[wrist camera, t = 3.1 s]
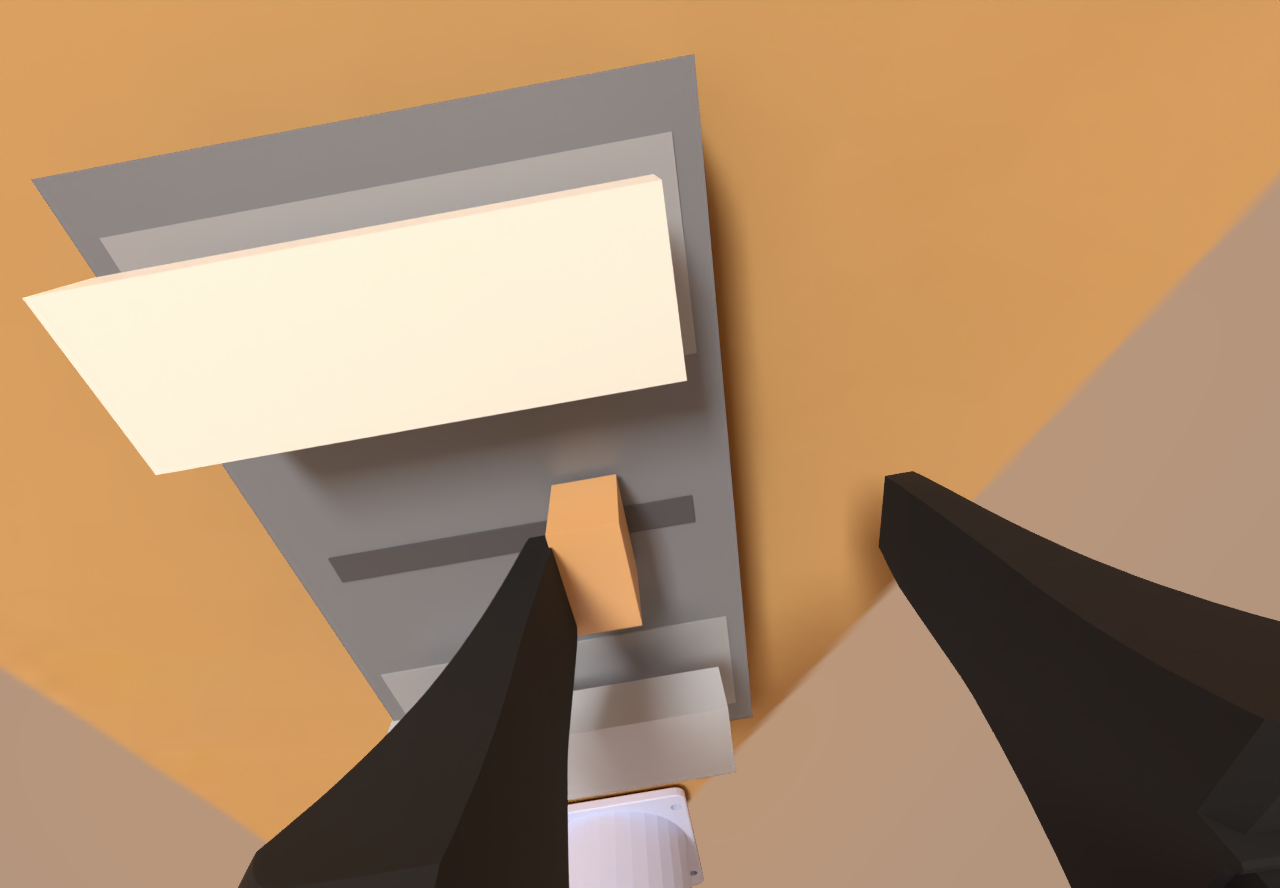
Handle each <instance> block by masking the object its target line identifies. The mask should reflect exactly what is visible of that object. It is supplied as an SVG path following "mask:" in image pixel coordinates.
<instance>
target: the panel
mask: <svg viewBox="0 0 1280 888" xmlns="http://www.w3.org/2000/svg"><path fill="white" fill-rule="evenodd" d="M651 174H654V175H655V176H657V177H658V178H660V179H661V180H662V186H663V194H664V202H665V210H666V218H667V226H668V233H669V241H670V249H671V257H672V265H673V273H674V281H675V289H676V297H677V305H678V313H679V321H680V329H681V337H682V345H683V353H684V361H685V369H686V377H687V381H682V382H676V383H671V384H665V385H660V386H654V387H648V388H643V389H637V390H631V391H626V392H620V393H615V394H609V395H603V396H598V397H592V398H586V399H581V400H575V401H570V402H564V403H558V404H553V405H547V406H541V407H536V408H530V409H525V410H519V411H513V412H508V413H502V414H496V415H491V416H485V417H480V418H474V419H468V420H463V421H457V422H451V423H446V424H440V425H435V426H429V427H423V428H418V429H412V430H406V431H401V432H395V433H390V434H384V435H378V436H373V437H367V438H361V439H356V440H350V441H345V442H339V443H333V444H328V445H322V446H316V447H311V448H305V449H300V450H294V451H288V452H283V453H277V454H271V455H266V456H260V457H255V458H249V459H243V460H238V461H232V462H226V463H221V464H222V465H223V467H224V468H225V470H226V471H227V473H228V474H229V476H230V477H231V479H232V480H233V482H234V483H235V485H236V486H237V488H238V489H239V491H240V492H241V494H242V495H243V497H244V498H245V499H246V501H247V502H248V504H249V505H250V507H251V508H252V510H253V511H254V513H255V514H256V516H257V517H258V519H259V520H260V522H261V523H262V525H263V526H264V528H265V529H266V531H267V532H268V534H269V535H270V537H271V538H272V540H273V541H274V543H275V544H276V546H277V547H278V549H279V550H280V552H281V553H282V555H283V556H284V558H285V559H286V561H287V562H288V564H289V565H290V567H291V568H292V570H293V571H294V573H295V574H296V576H297V577H298V579H299V580H300V582H301V583H302V585H303V586H304V588H305V589H306V591H307V592H308V593H309V595H310V596H311V598H312V599H313V601H314V602H315V604H316V605H317V607H318V608H319V610H320V611H321V613H322V614H323V616H324V617H325V619H326V620H327V622H328V623H329V625H330V626H331V628H332V629H333V631H334V632H335V634H336V635H337V637H338V638H339V640H340V641H341V643H342V644H343V646H344V647H345V649H346V650H347V652H348V653H349V655H350V656H351V658H352V659H353V661H354V662H355V664H356V665H357V667H358V668H359V670H360V671H361V673H362V674H363V676H364V677H365V679H366V680H367V682H368V683H369V685H370V686H371V687H372V689H373V690H374V692H375V693H376V695H377V696H378V698H379V699H380V701H381V702H382V704H383V705H384V707H385V708H386V710H387V711H388V713H389V714H390V716H391V717H392V719H393V720H394V721H397V720H401V719H402V718H403V717H404V716H405V715H406V713H407V712H408V711H409V710H410V709H411V708H412V707H413V706H414V705H415V704H416V703H417V701H418V700H419V699H420V698H421V697H422V696H423V695H424V693H425V692H426V691H427V690H428V689H429V687H430V686H431V685H432V684H433V683H434V681H435V680H436V679H437V678H438V676H439V675H440V674H441V673H442V671H443V670H444V669H445V668H446V666H447V665H448V664H449V662H450V661H451V660H452V658H453V657H454V656H455V654H456V653H457V652H458V650H459V649H460V648H461V646H462V645H463V643H464V642H465V640H466V639H467V637H468V636H469V635H470V633H471V632H472V630H473V629H474V627H475V626H476V624H477V623H478V621H479V620H480V619H481V617H482V615H483V614H484V612H485V611H486V609H487V608H488V606H489V604H490V603H491V601H492V600H493V598H494V596H495V595H496V593H497V591H498V590H499V588H500V587H501V585H502V583H503V582H504V580H505V578H506V576H507V575H508V573H509V571H510V569H511V568H512V566H513V564H514V562H515V561H516V559H517V557H518V555H519V553H520V552H521V550H522V548H523V546H524V545H525V543H526V541H527V540H528V539H529V538H532V537H537V536H543V535H545V534H546V526H547V518H548V510H549V502H550V494H551V486H552V485H557V484H562V483H568V482H574V481H579V480H585V479H591V478H597V477H602V476H608V475H614V474H616V477H617V481H618V486H619V490H620V495H621V499H622V504H623V508H624V513H625V517H626V522H627V526H628V531H629V535H630V540H631V544H632V549H633V553H634V558H635V562H636V567H637V574H638V584H639V595H640V605H641V616H642V625H641V626H635V627H629V628H623V629H617V630H611V631H605V632H600V633H594V634H588V635H582V636H578V635H577V640H578V641H577V654H576V666H575V677H574V688H573V691H576V690H582V689H588V688H594V687H600V686H606V685H612V684H618V683H624V682H630V681H636V680H642V679H648V678H654V677H660V676H666V675H672V674H678V673H684V672H690V671H696V670H702V669H707V668H713V667H719V671H720V676H721V680H722V684H723V688H724V693H725V697H726V701H727V706H728V712H729V720H730V721H731V720H737V719H743V718H750V717H752V705H751V694H750V683H749V671H748V660H747V649H746V637H745V626H744V614H743V603H742V592H741V580H740V569H739V557H738V546H737V535H736V523H735V512H734V500H733V489H732V478H731V466H730V455H729V443H728V432H727V421H726V409H725V398H724V386H723V375H722V364H721V352H720V341H719V329H718V318H717V307H716V295H715V284H714V272H713V261H712V250H711V238H710V227H709V216H708V204H707V193H706V181H705V170H704V159H703V147H702V136H701V124H700V113H699V102H698V90H697V79H696V67H695V56H694V54H693V55H688V56H682V57H677V58H672V59H667V60H661V61H656V62H651V63H645V64H640V65H635V66H630V67H624V68H619V69H614V70H608V71H603V72H598V73H592V74H587V75H582V76H577V77H571V78H566V79H561V80H555V81H550V82H545V83H540V84H534V85H529V86H524V87H518V88H513V89H508V90H503V91H497V92H492V93H487V94H481V95H476V96H471V97H466V98H460V99H455V100H450V101H444V102H439V103H434V104H428V105H423V106H418V107H413V108H407V109H402V110H397V111H391V112H386V113H381V114H376V115H370V116H365V117H360V118H354V119H349V120H344V121H339V122H333V123H328V124H323V125H317V126H312V127H307V128H302V129H296V130H291V131H286V132H280V133H275V134H270V135H264V136H259V137H254V138H249V139H243V140H238V141H233V142H227V143H222V144H217V145H212V146H206V147H201V148H196V149H190V150H185V151H180V152H175V153H169V154H164V155H159V156H153V157H148V158H143V159H137V160H132V161H127V162H122V163H116V164H111V165H106V166H100V167H95V168H90V169H85V170H79V171H74V172H69V173H63V174H58V175H53V176H48V177H42V178H37V179H32V182H33V183H34V185H35V186H36V188H37V189H38V191H39V192H40V194H41V195H42V197H43V198H44V200H45V201H46V203H47V204H48V206H49V207H50V209H51V210H52V212H53V213H54V215H55V216H56V217H57V219H58V220H59V222H60V223H61V225H62V226H63V228H64V229H65V231H66V232H67V234H68V235H69V237H70V238H71V240H72V241H73V243H74V244H75V246H76V247H77V249H78V250H79V252H80V253H81V255H82V256H83V258H84V259H85V261H86V262H87V264H88V265H89V267H90V268H91V270H92V271H93V273H94V274H95V276H96V277H100V276H106V275H111V274H117V273H122V272H127V271H133V270H138V269H144V268H149V267H154V266H160V265H165V264H171V263H176V262H181V261H187V260H192V259H198V258H203V257H208V256H214V255H219V254H225V253H230V252H235V251H241V250H246V249H252V248H257V247H262V246H268V245H273V244H279V243H284V242H289V241H295V240H300V239H306V238H311V237H316V236H322V235H327V234H333V233H338V232H343V231H349V230H354V229H360V228H365V227H370V226H376V225H381V224H387V223H392V222H397V221H403V220H408V219H414V218H419V217H424V216H430V215H435V214H441V213H446V212H451V211H457V210H462V209H468V208H473V207H478V206H484V205H489V204H495V203H500V202H505V201H511V200H516V199H522V198H527V197H532V196H538V195H543V194H549V193H554V192H559V191H565V190H570V189H576V188H581V187H586V186H592V185H597V184H603V183H608V182H613V181H619V180H624V179H630V178H635V177H640V176H646V175H651Z"/></svg>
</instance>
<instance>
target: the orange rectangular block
mask: <svg viewBox="0 0 1280 888" xmlns="http://www.w3.org/2000/svg"><path fill="white" fill-rule="evenodd" d="M545 537H546V540H547V543H548V547H549V548H551V547H552V551H553V554H554V557H555V560H556V563H557V566H558V569H559V572H560V575H561V578H562V581H563V585H564V588H565V591H566V594H567V597H568V600H569V603H570V606H571V609H572V612H573V615H574V619H575V622H576V625H577V635H578V636H582V635H588V634H594V633H600V632H605V631H611V630H617V629H623V628H629V627H635V626H641V625H642V616H641V605H640V595H639V584H638V574H637V567H636V562H635V558H634V553H633V549H632V544H631V540H630V535H629V531H628V526H627V522H626V517H625V513H624V508H623V504H622V499H621V495H620V490H619V486H618V481H617V477H616V474H614V475H608V476H602V477H597V478H591V479H585V480H579V481H574V482H568V483H562V484H557V485H552V486H551V494H550V502H549V510H548V518H547V526H546V534H545Z"/></svg>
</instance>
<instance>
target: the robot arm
mask: <svg viewBox="0 0 1280 888" xmlns="http://www.w3.org/2000/svg"><path fill="white" fill-rule="evenodd" d="M879 548H880V550H881V552H882V554H883V556H884V558H885V560H886V562H887V564H888V566H889V568H890V570H891V572H892V574H893V576H894V578H895V580H896V582H897V584H898V585H899V587H900V589H901V590H902V592H903V593H904V595H905V596H906V597H907V599H908V601H909V602H910V604H911V605H912V606H913V608H914V609H915V611H916V612H917V614H918V615H919V617H920V618H921V620H922V621H923V622H924V624H925V625H926V627H927V628H928V630H929V631H930V633H931V634H932V636H933V637H934V638H935V640H936V641H937V643H938V644H939V645H940V647H941V649H942V650H943V651H944V653H945V654H946V656H947V657H948V658H949V660H950V661H951V663H952V664H953V666H954V667H955V669H956V670H957V672H958V673H959V675H960V676H961V678H962V679H963V681H964V682H965V684H966V685H967V687H968V689H969V690H970V692H971V693H972V695H973V697H974V698H975V700H976V702H977V704H978V706H979V707H980V709H981V711H982V713H983V715H984V716H985V718H986V720H987V722H988V723H989V725H990V727H991V729H992V731H993V732H994V734H995V736H996V738H997V740H998V741H999V743H1000V745H1001V747H1002V749H1003V751H1004V753H1005V755H1006V757H1007V759H1008V760H1009V762H1010V764H1011V766H1012V768H1013V770H1014V772H1015V774H1016V775H1017V778H1018V779H1019V781H1020V783H1021V785H1022V787H1023V789H1024V791H1025V793H1026V795H1027V796H1028V799H1029V801H1030V803H1031V805H1032V807H1033V809H1034V811H1035V813H1036V815H1037V817H1038V819H1039V821H1040V823H1041V825H1042V827H1043V829H1044V831H1045V833H1046V835H1047V837H1048V839H1049V841H1050V843H1051V845H1052V847H1053V849H1054V851H1055V853H1056V856H1057V857H1058V860H1059V862H1060V864H1061V866H1062V869H1063V871H1064V873H1065V875H1066V877H1067V879H1068V881H1069V884H1070V886H1071V888H1280V621H1277V620H1273V619H1269V618H1265V617H1261V616H1258V615H1254V614H1251V613H1248V612H1244V611H1241V610H1237V609H1234V608H1231V607H1227V606H1224V605H1220V604H1217V603H1214V602H1211V601H1207V600H1204V599H1202V598H1199V597H1195V596H1193V595H1190V594H1186V593H1184V592H1181V591H1177V590H1174V589H1171V588H1168V587H1165V586H1162V585H1159V584H1157V583H1154V582H1151V581H1148V580H1145V579H1143V578H1140V577H1137V576H1134V575H1131V574H1129V573H1127V572H1124V571H1122V570H1119V569H1116V568H1114V567H1111V566H1109V565H1106V564H1103V563H1101V562H1098V561H1096V560H1093V559H1091V558H1088V557H1086V556H1084V555H1081V554H1079V553H1077V552H1074V551H1072V550H1070V549H1067V548H1065V547H1063V546H1060V545H1059V544H1056V543H1054V542H1052V541H1050V540H1048V539H1045V538H1043V537H1041V536H1039V535H1037V534H1035V533H1033V532H1030V531H1028V530H1026V529H1024V528H1022V527H1020V526H1018V525H1016V524H1014V523H1012V522H1010V521H1008V520H1006V519H1004V518H1002V517H1000V516H998V515H996V514H994V513H992V512H990V511H988V510H987V509H984V508H982V507H981V506H979V505H977V504H975V503H973V502H971V501H969V500H968V499H966V498H964V497H962V496H960V495H958V494H956V493H954V492H953V491H951V490H949V489H947V488H945V487H943V486H941V485H939V484H938V483H936V482H934V481H932V480H930V479H928V478H926V477H924V476H922V475H920V474H918V473H916V472H913V471H912V472H906V473H900V474H894V475H888V476H885V483H884V494H883V505H882V516H881V528H880V539H879ZM577 641H578V640H577V625H576V622H575V619H574V615H573V612H572V609H571V606H570V603H569V600H568V597H567V594H566V591H565V588H564V585H563V581H562V578H561V575H560V572H559V569H558V566H557V563H556V560H555V557H554V554H553V551H552V547H551V548H549V547H548V543H547V540H546V537H545V535H543V536H537V537H532V538H529V539H528V540H527V541H526V543H525V545H524V546H523V548H522V550H521V552H520V553H519V555H518V557H517V559H516V561H515V562H514V564H513V566H512V568H511V569H510V571H509V573H508V575H507V576H506V578H505V580H504V582H503V583H502V585H501V587H500V588H499V590H498V591H497V593H496V595H495V596H494V598H493V600H492V601H491V603H490V604H489V606H488V608H487V609H486V611H485V612H484V614H483V615H482V617H481V619H480V620H479V621H478V623H477V624H476V626H475V627H474V629H473V630H472V632H471V633H470V635H469V636H468V637H467V639H466V640H465V642H464V643H463V645H462V646H461V648H460V649H459V650H458V652H457V653H456V654H455V656H454V657H453V658H452V660H451V661H450V662H449V664H448V665H447V666H446V668H445V669H444V670H443V671H442V673H441V674H440V675H439V676H438V678H437V679H436V680H435V681H434V683H433V684H432V685H431V686H430V687H429V689H428V690H427V691H426V692H425V693H424V695H423V696H422V697H421V698H420V699H419V700H418V701H417V703H416V704H415V705H414V706H413V707H412V708H411V709H410V710H409V711H408V712H407V713H406V715H405V716H404V717H403V718H402V719H401V720H400V721H399V722H398V723H397V724H396V725H395V726H394V728H393V729H392V730H391V731H390V732H389V733H388V734H387V735H386V736H385V737H384V738H383V739H382V740H381V741H380V742H379V743H378V744H377V745H376V746H375V747H374V748H373V749H372V750H371V751H370V752H369V753H368V754H367V755H366V756H365V757H364V758H363V759H362V760H361V761H360V762H359V763H358V764H357V765H356V766H355V767H354V768H353V769H352V770H350V771H349V772H348V773H347V774H346V775H345V776H344V777H343V778H342V779H341V780H340V781H339V782H338V783H337V784H335V785H334V786H333V787H332V788H331V789H330V790H329V791H328V792H327V793H325V794H324V795H323V796H322V797H321V798H320V799H319V800H318V801H316V802H315V803H314V804H313V805H312V806H311V807H309V808H308V809H307V810H306V811H305V812H303V813H302V814H301V815H300V816H299V817H298V818H296V819H295V820H294V821H293V822H292V823H290V824H289V825H288V826H287V827H286V828H285V829H283V830H282V831H281V832H280V833H279V834H278V835H276V836H275V837H274V838H273V839H272V840H270V841H269V842H268V843H267V844H265V845H264V846H263V847H262V848H261V849H259V850H258V851H257V852H256V854H255V856H254V857H253V859H252V861H251V863H250V865H249V867H248V869H247V871H246V873H245V875H244V877H243V879H242V881H241V883H240V885H239V887H238V888H692V886H693V885H697V884H700V883H701V882H702V881H703V873H702V868H701V864H700V859H699V855H698V850H697V846H696V841H695V837H694V832H693V828H692V824H691V819H690V814H689V810H688V805H687V801H686V797H685V792H684V790H683V789H681V788H678V787H672V788H666V789H660V790H654V791H648V792H642V793H635V794H629V795H623V796H617V797H611V798H605V799H599V800H593V801H587V802H581V803H574V804H568V746H569V732H570V721H571V710H572V699H573V688H574V677H575V666H576V654H577Z"/></svg>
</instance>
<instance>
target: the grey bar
mask: <svg viewBox="0 0 1280 888" xmlns="http://www.w3.org/2000/svg"><path fill="white" fill-rule="evenodd" d="M399 721H400V720H397V721H392V722H391V725H390V728H389V731H388V733H389V732H390V731H391V730H392V729H393V728H394V726H395V725H396V724H397V723H398V722H399ZM730 773H736V768H735V760H734V752H733V744H732V736H731V728H730V720H729V712H728V706H727V701H726V697H725V693H724V688H723V684H722V680H721V676H720V671H719V667H713V668H707V669H702V670H696V671H690V672H684V673H678V674H672V675H666V676H660V677H654V678H648V679H642V680H636V681H630V682H624V683H618V684H612V685H606V686H600V687H594V688H588V689H582V690H576V691H573V699H572V710H571V721H570V732H569V746H568V800H572V799H578V798H584V797H590V796H596V795H602V794H608V793H614V792H620V791H626V790H633V789H639V788H645V787H651V786H657V785H663V784H669V783H675V782H681V781H687V780H694V779H700V778H706V777H712V776H718V775H724V774H730Z"/></svg>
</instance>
